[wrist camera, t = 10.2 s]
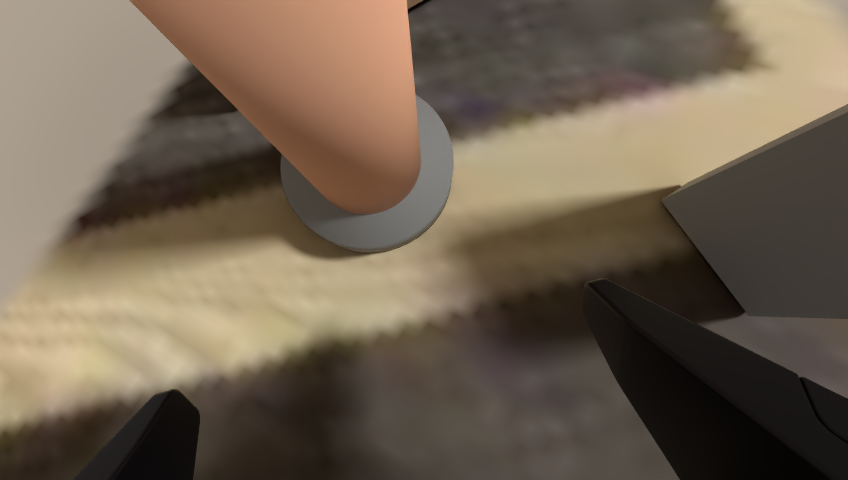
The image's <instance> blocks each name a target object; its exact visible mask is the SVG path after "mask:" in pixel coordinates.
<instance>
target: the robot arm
mask: <svg viewBox="0 0 848 480" xmlns="http://www.w3.org/2000/svg"><path fill="white" fill-rule="evenodd" d="M583 313H584V316H585V319H586V321H587V323H588V325H589V327H590V329H591V331H592V333H593V335H594V337H595V339H596V341H597V343H598V345H599V347H600V349H601V351H602V353H603V355H604V357H605V359H606V361H607V363H608V365H609V367H610V369H611V371H612V373H613V375H614V377H615V378H616V380H617V382H618V384H619V385H620V387H621V389H622V390H623V392H624V393H625V395H626V397H627V398H628V400H629V401H630V403H631V404H632V406H633V407H634V409H635V411H636V412H637V414H638V415H639V417H640V418H641V420H642V421H643V423H644V424H645V426H646V428H647V429H648V431H649V432H650V434H651V435H652V437H653V438H654V440H655V442H656V443H657V445H658V446H659V448H660V449H661V451H662V452H663V454H664V456H665V457H666V459H667V460H668V462H669V463H670V465H671V466H672V468H673V469H674V471H675V473H676V474H677V476H678V477H679V479H680V480H848V399H847V398H845V397H843V396H841V395H839V394H837V393H835V392H833V391H831V390H829V389H827V388H825V387H823V386H821V385H819V384H817V383H815V382H813V381H811V380H809V379H807V378H805V377H800V378H799V376H798V375H797V374H796V373H794V372H792V371H790V370H788V369H786V368H784V367H782V366H780V365H778V364H776V363H774V362H772V361H770V360H768V359H766V358H764V357H762V356H760V355H758V354H756V353H754V352H752V351H750V350H748V349H746V348H744V347H742V346H740V345H738V344H736V343H734V342H732V341H730V340H728V339H726V338H724V337H722V336H720V335H718V334H716V333H714V332H712V331H710V330H708V329H706V328H704V327H702V326H700V325H698V324H696V323H694V322H692V321H690V320H688V319H686V318H684V317H682V316H680V315H678V314H676V313H674V312H672V311H670V310H668V309H666V308H664V307H662V306H660V305H658V304H656V303H654V302H652V301H650V300H648V299H646V298H644V297H642V296H640V295H638V294H636V293H634V292H632V291H630V290H628V289H626V288H624V287H622V286H620V285H618V284H616V283H614V282H612V281H610V280H608V279H605V278H601V279H597V280H593V281H589V282H587V283H586V284H585V285H584V296H583ZM199 424H200V414H199V411H198V409H197V408H196V406H195V405H194V404H193V403H192V402H191V401H190V400H189V399H188V398H187V397H186V396H185V395H184V394H183V393H182V392H181V391H180V390H177V389H172V390H168V391H164V392H160V393H157V394H155V395H154V396H153V397H152V398H151V399H150V400H149V401H148V402H147V403H146V404H145V405H144V406H143V407H142V408H141V409H140V410H139V411H138V412H137V413H136V414H135V415H134V416H133V417H132V418H131V419H130V420H129V421H128V422H127V423H126V424H125V425H124V427H123V428H122V429H121V430H120V431H119V432H118V433H117V434H116V435H115V436H114V437H113V438H112V439H111V440H110V441H109V442H108V443H107V444H106V445H105V446H104V447H103V448H102V449H101V450H100V451H99V452H98V453H97V454H96V455H95V456H94V457H93V458H92V460H91V461H90V462H89V463H88V464H87V465H86V466H85V467H84V468H83V469H82V470H81V471H80V472H79V473H78V474H77V475H76V476H75V477H74V478H73V479H72V480H193V475H194V467H195V458H196V450H197V441H198V433H199Z"/></svg>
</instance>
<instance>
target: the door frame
mask: <svg viewBox="0 0 848 480" xmlns="http://www.w3.org/2000/svg"><path fill="white" fill-rule="evenodd" d="M661 201H662V203H663V204H664V205H665V207H666V208H667V209H668V211H669V212H670V213H671V214H672V216H673V217H674V218H675V220H676V221H677V222H678V224H679V225H680V226H681V228H682V229H683V230H684V232H685V233H686V234H687V235H688V237H689V238H690V239H691V241H692V242H693V243H694V245H695V246H696V247H697V249H698V250H699V251H700V252H701V254H702V255H703V256H704V258H705V259H706V260H707V262H708V263H709V264H710V266H711V267H712V268H713V269H714V271H715V272H716V273H717V275H718V276H719V277H720V279H721V280H722V281H723V283H724V284H725V285H726V287H727V288H728V289H729V290H730V292H731V293H732V294H733V296H734V297H735V298H736V300H737V301H738V302H739V304H740V305H741V306H742V307H743V309H744V310H745V311H746V313H747V314H748V315H749V316H768V317H802V318H836V319H848V104H847V105H845V106H843V107H841V108H839V109H837V110H835V111H833V112H831V113H829V114H827V115H825V116H823V117H820V118H818V119H816V120H814V121H812V122H810V123H808V124H806V125H804V126H802V127H800V128H798V129H796V130H794V131H792V132H790V133H788V134H786V135H784V136H782V137H780V138H778V139H776V140H774V141H772V142H769V143H767V144H765V145H763V146H761V147H759V148H757V149H755V150H753V151H751V152H749V153H747V154H745V155H743V156H741V157H739V158H737V159H735V160H733V161H731V162H729V163H727V164H725V165H723V166H721V167H719V168H716V169H714V170H712V171H710V172H708V173H706V174H704V175H702V176H700V177H698V178H696V179H694V180H692V181H690V182H688V183H687V184H685V185H683V186H682V187H680V188H679V189H677V190H676V191H674V192H672V193H671V194H669V195H668V196H666V197H665V198H663V199H662V200H661Z"/></svg>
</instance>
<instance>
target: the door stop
mask: <svg viewBox="0 0 848 480" xmlns="http://www.w3.org/2000/svg"><path fill="white" fill-rule="evenodd" d="M130 1H131V2H132V3H133V4H134V5H135V6H136V7H137V8H138V9H139V10H140V11H141V12H142V13H143V14H144V15H145V16H146V17H147V18H148V19H149V20H150V21H151V22H152V24H153V25H154V26H156V28H157V29H158V30H159V31H160V32H161V33H163V35H164V36H166V38H167V39H168V40H169V41H170V42H171V43H172V44H173V45H174V46H175V47H176V48H177V49H178V50H179V51H180V52H181V53H182V54H183V55H184V56H185V57H186V58H187V59H188V60H189V61H190V62H191V63H192V64H193V65H194V66H195V67H196V68H197V69H198V70H199V71H200V72H201V73H202V74H203V75H204V76H205V77H206V78H207V79H208V80H209V81H210V82H211V83H212V84H213V85H214V86H215V87H216V88H217V89H218V90H219V91H220V92H221V93H222V94H223V95H224V96H225V97H226V98H227V99H228V100H229V101H230V102H231V103H232V104H233V105H234V106H235V107H236V108H237V109H238V110H239V111H240V112H241V113H242V114H243V115H244V116H245V117H246V118H247V119H248V120H249V121H250V122H251V123H252V124H253V125H254V126H255V127H256V128H257V129H258V130H259V131H260V132H261V133H262V134H263V135H264V136H265V137H266V138H267V139H268V140H269V141H270V142H271V143H272V144H273V145H274V146H275V147H276V148H277V149H278V150H279V151H280V153H281V154H282V155H281V167H280V170H281V180H282V185H283V189H284V192H285V195H286V197H287V200H288V202H289V204H290V206H291V207H292V209H293V211H294V212H295V213H296V215H297V216H298V217H299V219H300V220H301V221H302V222H303V223H304V224H305V225H306V226H307V227H309V228H310V229H311V230H313V231H314V232H315V233H317V234H318V235H320V236H321V237H323V238H325V239H326V240H328V241H330V242H331V243H333V244H335V245H337V246H340V247H342V248H345V249H348V250H352V251H357V252H366V253H371V252H383V251H389V250H392V249H396V248H399V247H401V246H404V245H406V244H408V243H410V242H412V241H413V240H415V239H417V238H418V237H419V236H421V235H422V234H423V233H424V232H426V231H427V230H428V229H429V228H430V227H431V226H432V225H433V223H434V222H435V221H436V219H437V218H438V217H439V215H440V214H441V212H442V210H443V208H444V207H445V204H446V202H447V199H448V196H449V192H450V188H451V182H452V174H453V150H452V144H451V140H450V137H449V134H448V132H447V130H446V128H445V125H444V123H443V122H442V120H441V119H440V117H439V116H438V114H437V113H436V112H435V111H434V110H433V109H432V107H431V106H430V105H428V104H427V103H426V102H425V101H424V100H423V99H421V98H420V97H418V96H417V95H415V86H414V75H413V64H412V54H411V43H410V32H409V21H408V10H407V0H130Z"/></svg>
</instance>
